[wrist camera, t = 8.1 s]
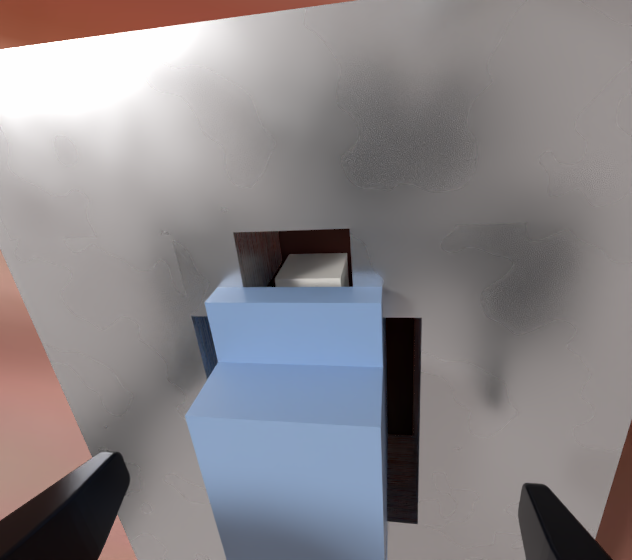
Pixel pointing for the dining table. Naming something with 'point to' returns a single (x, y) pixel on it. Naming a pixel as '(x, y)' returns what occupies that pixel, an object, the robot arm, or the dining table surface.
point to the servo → (297, 416)
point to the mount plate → (365, 238)
